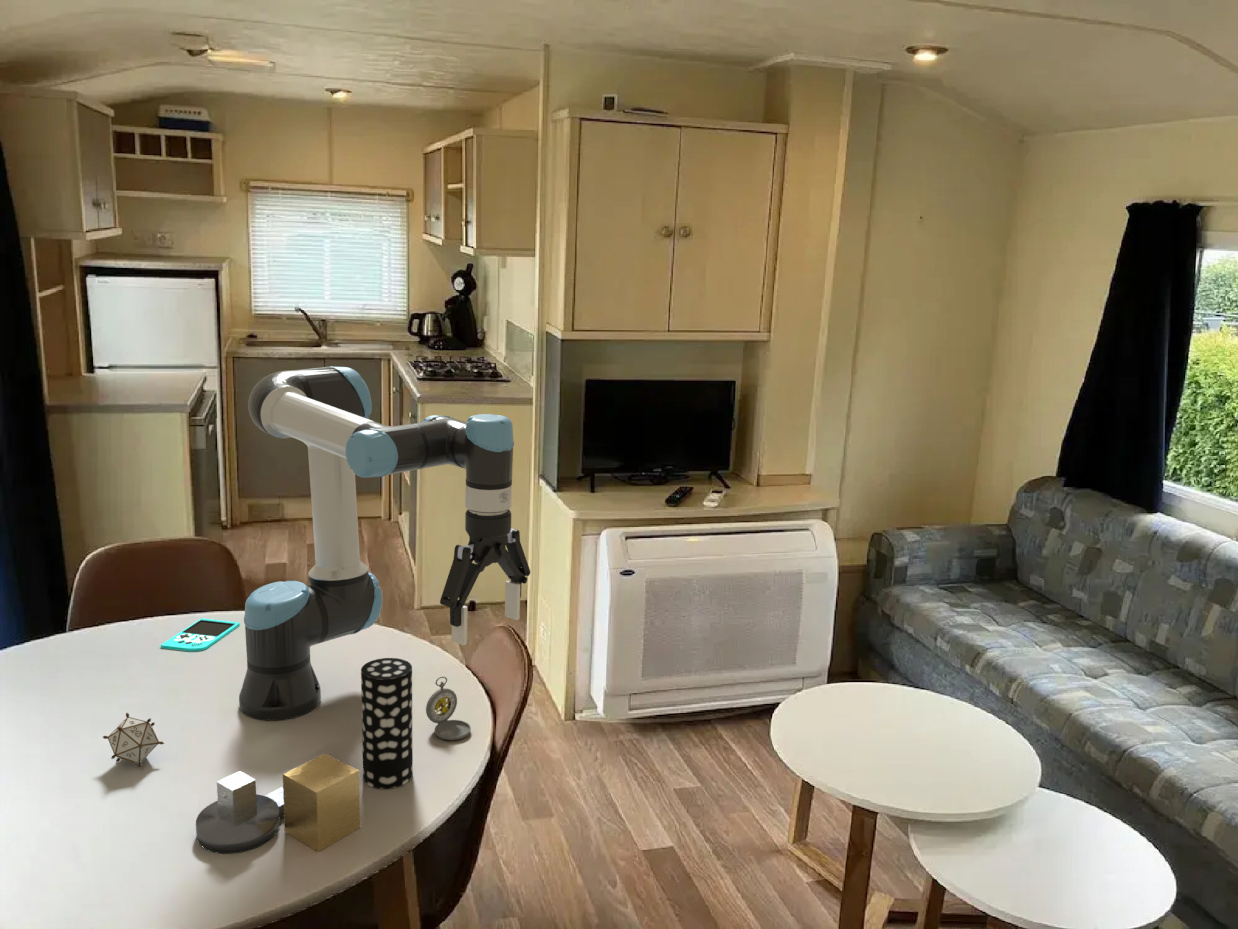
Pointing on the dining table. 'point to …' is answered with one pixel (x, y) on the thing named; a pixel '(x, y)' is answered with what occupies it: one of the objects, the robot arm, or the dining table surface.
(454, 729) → the pocket watch
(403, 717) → the white-spotted black cylinder
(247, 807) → the grey handled disc
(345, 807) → the golden tan block
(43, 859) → the dining table surface
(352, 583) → the robot arm
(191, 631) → the handheld game console
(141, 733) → the game die
